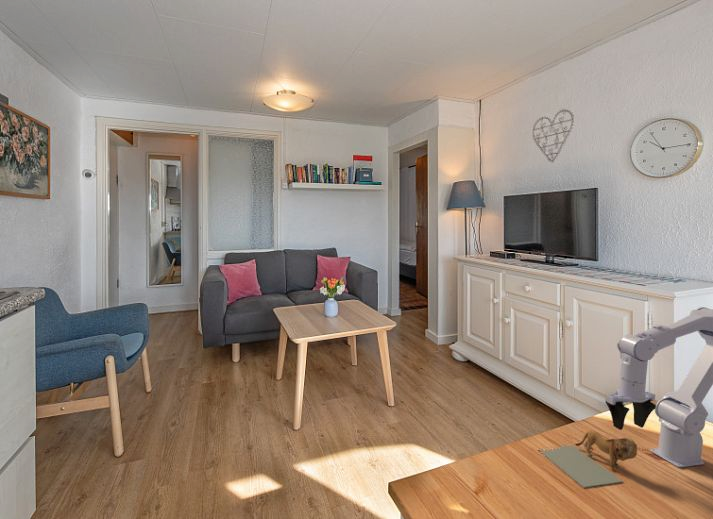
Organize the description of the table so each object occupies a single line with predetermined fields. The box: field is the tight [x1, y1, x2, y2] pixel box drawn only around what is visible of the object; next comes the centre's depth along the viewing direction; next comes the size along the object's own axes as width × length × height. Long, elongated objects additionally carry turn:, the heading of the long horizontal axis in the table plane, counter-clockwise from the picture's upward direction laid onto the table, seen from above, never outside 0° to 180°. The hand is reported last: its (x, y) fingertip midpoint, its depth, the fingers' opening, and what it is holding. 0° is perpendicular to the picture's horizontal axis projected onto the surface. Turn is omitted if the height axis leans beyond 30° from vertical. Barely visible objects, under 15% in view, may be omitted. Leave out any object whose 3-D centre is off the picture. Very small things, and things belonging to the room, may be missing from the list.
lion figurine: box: [574, 429, 638, 472], centre depth 101 cm, size 15×5×9 cm, turn 33°
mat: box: [539, 444, 624, 489], centre depth 99 cm, size 12×16×1 cm
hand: (628, 426), depth 102 cm, fingers open, 7 cm apart
